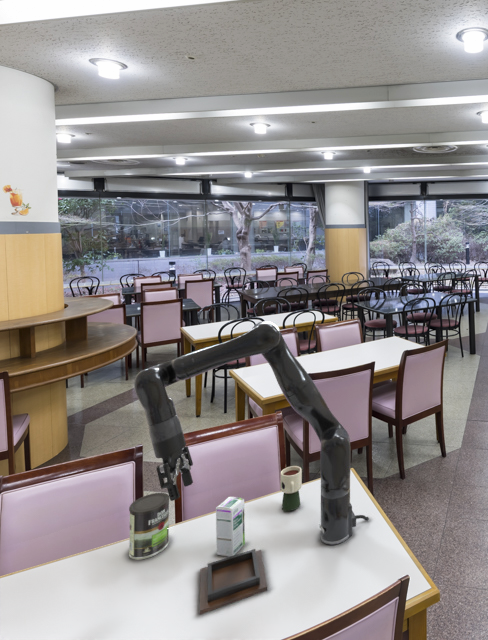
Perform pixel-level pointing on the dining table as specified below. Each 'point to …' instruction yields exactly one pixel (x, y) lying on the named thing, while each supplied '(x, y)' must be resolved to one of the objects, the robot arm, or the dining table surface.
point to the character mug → (291, 487)
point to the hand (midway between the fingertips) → (182, 491)
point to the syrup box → (230, 526)
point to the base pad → (231, 580)
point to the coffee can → (149, 525)
